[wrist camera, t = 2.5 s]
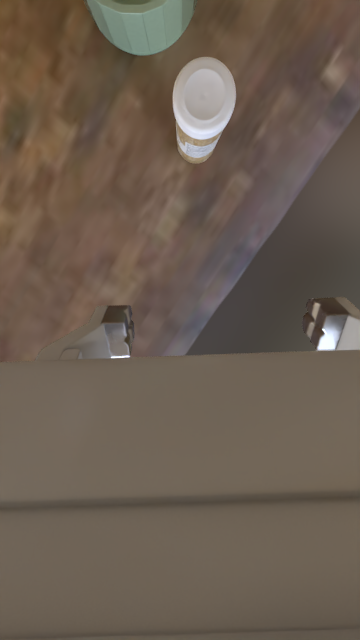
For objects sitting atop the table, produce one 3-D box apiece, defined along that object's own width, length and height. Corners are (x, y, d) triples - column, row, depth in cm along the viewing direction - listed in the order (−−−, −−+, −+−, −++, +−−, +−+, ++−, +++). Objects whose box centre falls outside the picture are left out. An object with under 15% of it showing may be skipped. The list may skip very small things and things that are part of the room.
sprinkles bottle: (178, 116, 31) (175, 49, 18) (218, 121, 31) (242, 57, 19) (175, 162, 33) (169, 129, 20) (213, 166, 33) (231, 136, 20)
